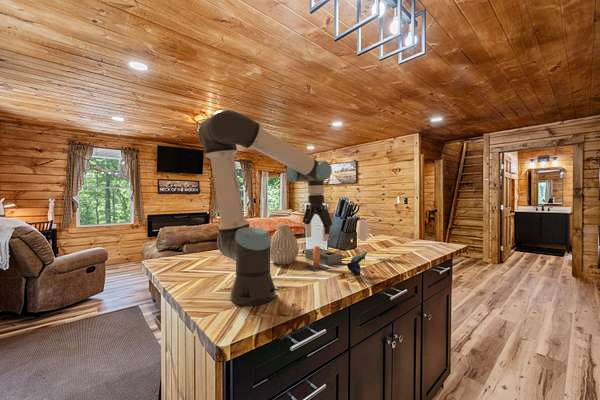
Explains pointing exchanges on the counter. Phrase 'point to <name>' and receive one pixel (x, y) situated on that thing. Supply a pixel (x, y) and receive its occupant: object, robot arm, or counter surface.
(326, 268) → the mat
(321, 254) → the hole block
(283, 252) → the vase
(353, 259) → the fish
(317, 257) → the peg
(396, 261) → the counter surface
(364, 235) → the cup
